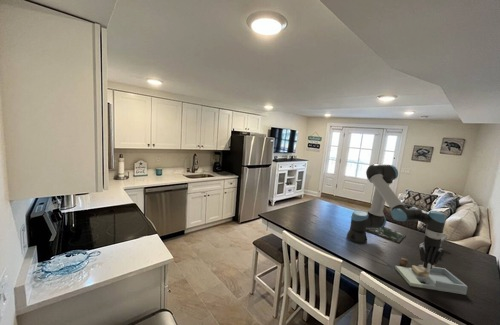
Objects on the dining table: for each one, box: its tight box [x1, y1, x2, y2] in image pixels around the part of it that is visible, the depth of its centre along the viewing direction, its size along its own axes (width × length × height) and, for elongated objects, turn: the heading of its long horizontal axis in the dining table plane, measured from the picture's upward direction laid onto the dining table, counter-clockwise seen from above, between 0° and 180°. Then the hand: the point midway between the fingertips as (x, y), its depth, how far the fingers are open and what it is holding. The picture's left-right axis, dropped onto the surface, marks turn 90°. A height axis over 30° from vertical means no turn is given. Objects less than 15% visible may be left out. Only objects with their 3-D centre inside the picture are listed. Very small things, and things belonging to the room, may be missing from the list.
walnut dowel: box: [399, 257, 409, 267], centre depth 134 cm, size 4×4×5 cm
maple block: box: [410, 264, 429, 277], centre depth 125 cm, size 6×6×3 cm
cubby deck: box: [394, 264, 469, 296], centre depth 121 cm, size 28×16×5 cm, turn 81°
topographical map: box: [366, 226, 407, 244], centre depth 187 cm, size 26×33×3 cm
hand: (426, 272), depth 124 cm, fingers closed
